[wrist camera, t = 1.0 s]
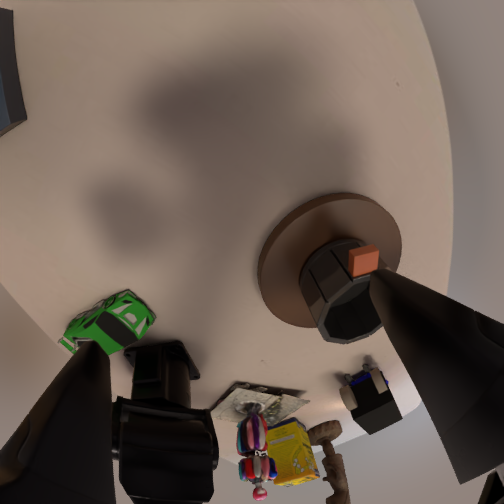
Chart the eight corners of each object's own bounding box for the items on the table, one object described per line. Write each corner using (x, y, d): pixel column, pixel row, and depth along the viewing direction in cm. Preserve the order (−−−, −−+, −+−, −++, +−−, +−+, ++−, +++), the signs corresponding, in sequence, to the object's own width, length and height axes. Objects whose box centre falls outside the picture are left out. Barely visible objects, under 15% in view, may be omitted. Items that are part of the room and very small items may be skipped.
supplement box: (305, 425, 43) (321, 477, 34) (274, 435, 43) (287, 487, 34) (294, 416, 39) (311, 475, 30) (261, 427, 40) (273, 485, 31)
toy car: (126, 283, 21) (121, 301, 20) (162, 318, 24) (160, 337, 22) (62, 324, 23) (55, 341, 21) (94, 352, 25) (90, 368, 23)
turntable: (386, 298, 28) (391, 306, 27) (268, 332, 27) (270, 342, 26) (400, 182, 20) (408, 187, 19) (243, 211, 20) (246, 218, 19)
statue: (206, 405, 36) (201, 501, 23) (237, 373, 32) (238, 492, 19) (271, 420, 39) (279, 506, 26) (309, 392, 35) (327, 491, 22)
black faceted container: (371, 294, 24) (394, 327, 21) (301, 314, 24) (316, 354, 20) (379, 213, 20) (413, 242, 16) (293, 231, 20) (315, 269, 16)
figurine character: (325, 369, 35) (357, 405, 41) (341, 414, 28) (370, 440, 35) (368, 344, 34) (390, 386, 40) (391, 386, 27) (407, 420, 33)
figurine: (298, 431, 44) (325, 523, 27) (337, 417, 43) (370, 508, 27) (308, 441, 49) (331, 520, 32) (342, 428, 48) (369, 507, 31)
